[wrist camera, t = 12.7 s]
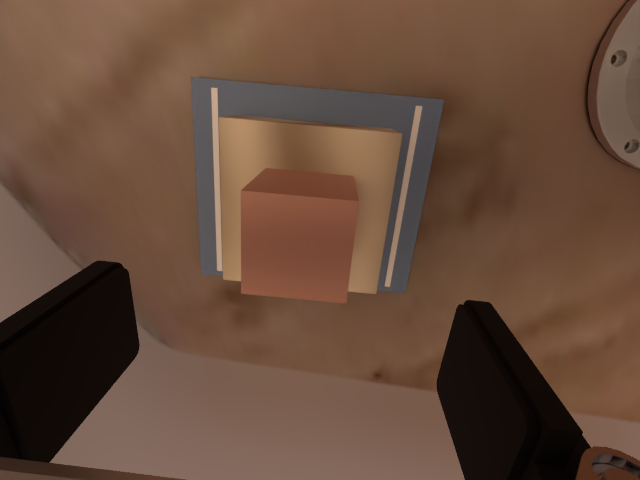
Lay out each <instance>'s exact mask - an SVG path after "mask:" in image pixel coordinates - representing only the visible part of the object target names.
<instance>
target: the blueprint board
mask: <svg viewBox="0 0 640 480" xmlns="http://www.w3.org/2000/svg"><path fill="white" fill-rule="evenodd" d="M191 88H192V107H193V126H194V145H195V164H196V183H197V202H198V221H199V240H200V259H201V274H204V275H215V276H223V260H222V221H221V183H220V145H219V117H225V116H234V115H244V116H255V117H266V118H277V119H289V120H300V121H311V122H322V123H333V124H345V125H356V126H367V127H378V128H389V129H393V130H396V131H398V132H400V133H402V140H401V146H400V152H399V158H398V164H397V170H396V176H395V182H394V189H393V195H392V201H391V207H390V213H389V219H388V225H387V231H386V237H385V243H384V249H383V255H382V261H381V267H380V273H379V280H378V286H377V291H384V292H395V293H406V288H407V283H408V278H409V273H410V268H411V263H412V258H413V253H414V248H415V243H416V238H417V233H418V228H419V223H420V218H421V213H422V208H423V203H424V198H425V193H426V188H427V183H428V179H429V174H430V169H431V164H432V159H433V154H434V149H435V144H436V139H437V134H438V129H439V124H440V119H441V114H442V109H443V104H444V99H433V98H421V97H410V96H399V95H387V94H376V93H365V92H353V91H342V90H331V89H319V88H308V87H297V86H285V85H274V84H262V83H251V82H240V81H228V80H217V79H206V78H194V77H191Z"/></svg>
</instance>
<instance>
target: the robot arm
mask: <svg viewBox="0 0 640 480" xmlns="http://www.w3.org/2000/svg"><path fill="white" fill-rule="evenodd" d="M588 110H589V116H590V121H591V125H592V127H593V130H594V132H595V134H596V136H597V139H598V140H599V142H600V143H601V144H602V145H603V147H604V148H605V149H606V151H607V152H608V153H609V154H611V155H612V156H613V157H615V158H616V159H617V160H619V161H620V162H622V163H624V164H626V165H629V166H631V167H633V168H635V169H640V0H629V1H628V2H627V4H626V5H625V6H624V7H623V9H622V10H621V11H620V13H619V14H618V15H617V17H616V18H615V19H614V21H613V22H612V24H611V26H610V28H609V29H608V31H607V33H606V35H605V37H604V38H603V40H602V42H601V44H600V47H599V49H598V52H597V55H596V57H595V60H594V62H593V65H592V70H591V75H590V80H589V85H588ZM138 351H139V339H138V332H137V325H136V318H135V312H134V305H133V298H132V291H131V285H130V278H129V273H128V270H127V269H125V268H124V267H123V266H122V264H120V263H117V262H107V261H96V262H94V263H92V264H91V265H89V266H88V267H86V268H85V269H83V270H82V271H80V272H78V273H77V274H75V275H74V276H72V277H71V278H69V279H68V280H66V281H64V282H63V283H61V284H60V285H58V286H57V287H55V288H54V289H52V290H51V291H49V292H47V293H46V294H44V295H43V296H41V297H40V298H38V299H36V300H35V301H33V302H32V303H30V304H29V305H27V306H25V307H24V308H22V309H21V310H19V311H18V312H16V313H15V314H13V315H11V316H10V317H8V318H7V319H5V320H4V321H2V322H1V323H0V480H184V479H175V478H168V477H160V476H152V475H144V474H136V473H128V472H120V471H112V470H103V469H95V468H86V467H79V466H70V465H62V464H54V463H49V462H50V461H51V460H52V459H53V458H54V456H55V455H56V454H57V453H58V451H59V450H60V449H61V448H62V447H63V445H64V444H65V443H66V442H67V440H68V439H69V438H70V437H71V436H72V434H73V433H74V432H75V431H76V429H77V428H78V427H79V426H80V424H81V423H82V422H83V421H84V420H85V419H86V417H87V416H88V415H89V414H90V412H91V411H92V410H93V409H94V407H95V406H96V405H97V404H98V403H99V401H100V400H101V399H102V398H103V397H104V395H105V394H106V393H107V392H108V390H109V389H110V388H111V386H112V385H113V384H114V383H115V382H116V381H117V379H118V378H119V377H120V376H121V375H122V373H123V372H124V371H125V370H126V368H127V367H128V366H129V365H130V364H131V362H132V361H133V360H134V359H135V357H136V356H137V354H138ZM437 392H438V395H439V398H440V402H441V405H442V408H443V411H444V414H445V417H446V420H447V424H448V427H449V430H450V433H451V437H452V440H453V443H454V446H455V449H456V453H457V456H458V459H459V462H460V465H461V468H462V471H463V475H464V478H465V480H640V461H639V460H637V459H636V458H634V457H631V456H629V455H627V454H625V453H623V452H621V451H618V450H615V449H611V448H608V447H595V446H594V447H592V448H591V447H590V445H589V444H588V443H587V441H586V440H585V439H584V437H583V436H582V433H583V432H582V430H581V429H580V427H579V426H578V425H577V423H576V422H575V421H574V419H573V418H572V416H571V415H570V413H569V412H568V411H567V409H566V408H565V406H564V405H563V404H562V402H561V401H560V399H559V398H558V397H557V395H556V394H555V392H554V391H553V390H552V388H551V387H550V386H549V384H548V383H547V381H546V380H545V379H544V377H543V376H542V374H541V373H540V372H539V370H538V369H537V367H536V366H535V365H534V363H533V362H532V360H531V359H530V358H529V356H528V355H527V353H526V352H525V351H524V349H523V348H522V346H521V345H520V344H519V342H518V341H517V339H516V338H515V337H514V335H513V334H512V332H511V331H510V330H509V328H508V327H507V325H506V324H505V323H504V321H503V320H502V318H501V317H500V316H499V314H498V313H497V311H496V310H495V309H494V307H493V306H492V304H490V303H489V302H483V301H473V300H467V301H465V303H464V305H462V304H460V305H458V307H457V309H456V313H455V316H454V320H453V323H452V327H451V331H450V334H449V338H448V342H447V345H446V349H445V352H444V356H443V360H442V363H441V367H440V371H439V374H438V378H437Z"/></svg>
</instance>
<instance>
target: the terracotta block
mask: <svg viewBox="0 0 640 480" xmlns="http://www.w3.org/2000/svg"><path fill="white" fill-rule="evenodd" d="M358 207H359V198H358V194H357V190H356V185H355V181H354V177H353V176H350V175H339V174H328V173H317V172H306V171H295V170H284V169H272V168H265V169H264V170H263V171H262V172H261V173H260V174H258V175H257V176H256V177H255V178H254V179H253V180H252V181H251V182H250V183H248V184H247V185H246V186H245V187H244V188H243V189H242V190H241V294H250V295H261V296H272V297H282V298H293V299H303V300H314V301H324V302H335V303H346V301H347V293H348V285H349V277H350V269H351V262H352V254H353V246H354V238H355V230H356V223H357V215H358Z"/></svg>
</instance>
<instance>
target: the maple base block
mask: <svg viewBox="0 0 640 480" xmlns="http://www.w3.org/2000/svg"><path fill="white" fill-rule="evenodd" d="M401 140H402V133H400V132H398V131H396V130H393V129H389V128H378V127H367V126H356V125H345V124H333V123H322V122H311V121H300V120H289V119H277V118H266V117H255V116H244V115H234V116H225V117H219V145H220V183H221V221H222V260H223V280H233V281H241V190H242V189H243V188H244V187H245V186H246V185H247V184H248V183H250V182H251V181H252V180H253V179H254V178H255V177H256V176H257V175H258V174H260V173H261V172H262V171H263V170H264V169H265V168H272V169H284V170H295V171H306V172H317V173H328V174H339V175H350V176H353V177H354V181H355V185H356V190H357V194H358V198H359V207H358V215H357V223H356V230H355V238H354V246H353V254H352V262H351V269H350V277H349V285H348V291H349V292H360V293H370V294H376V292H377V286H378V280H379V273H380V267H381V261H382V255H383V249H384V243H385V237H386V231H387V225H388V219H389V213H390V207H391V201H392V195H393V189H394V182H395V176H396V170H397V164H398V158H399V152H400V146H401Z"/></svg>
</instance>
